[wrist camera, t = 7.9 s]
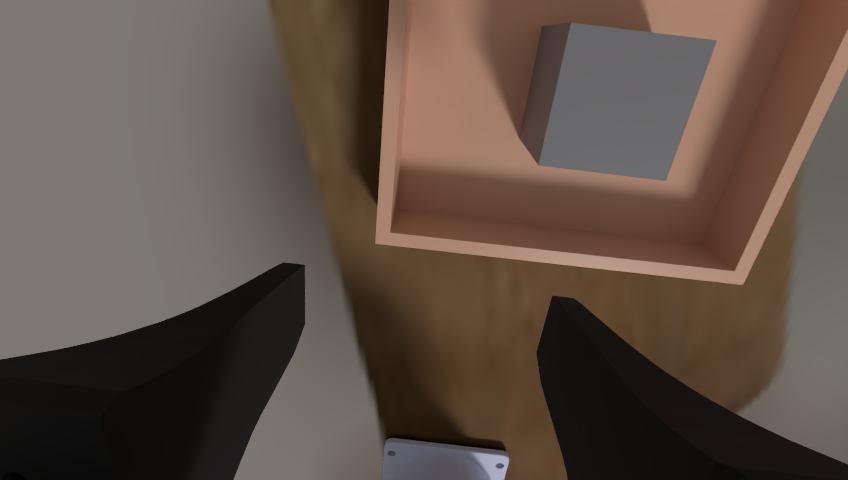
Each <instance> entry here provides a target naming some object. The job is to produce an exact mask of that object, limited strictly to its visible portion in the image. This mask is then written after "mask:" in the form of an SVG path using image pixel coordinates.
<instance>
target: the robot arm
mask: <svg viewBox="0 0 848 480" xmlns="http://www.w3.org/2000/svg"><path fill="white" fill-rule="evenodd" d="M304 325H305V265H300V264H291V263H282V264H279V265H277V266H276V267H274V268H272V269H270V270H268V271H266V272H265V273H263V274H261V275H259V276H257V277H256V278H254V279H252V280H250V281H248V282H246V283H245V284H243V285H241V286H239V287H237V288H236V289H234V290H232V291H230V292H228V293H226V294H224V295H222V296H220V297H218V298H216V299H213V300H211V301H209V302H207V303H205V304H203V305H201V306H199V307H197V308H194V309H192V310H190V311H188V312H185V313H182V314H180V315H178V316H175V317H173V318H170V319H167V320H164V321H161V322H159V323H156V324H153V325H150V326H147V327H143V328H140V329H137V330H133V331H130V332H127V333H124V334H121V335H117V336H114V337H110V338H106V339H102V340H98V341H94V342H90V343H86V344H81V345H77V346H73V347H68V348H64V349H59V350H53V351H48V352H42V353H36V354H31V355H25V356H19V357H13V358H8V359H1V360H0V480H233V479H234V476H235V474H236V471H237V469H238V466H239V464H240V461H241V459H242V456H243V454H244V452H245V449H246V447H247V444H248V442H249V439H250V437H251V434H252V432H253V430H254V428H255V426H256V424H257V422H258V420H259V417H260V415H261V414H262V412H263V410H264V408H265V406H266V405H267V403H268V401H269V399H270V397H271V395H272V393H273V392H274V390H275V388H276V386H277V384H278V382H279V381H280V379H281V377H282V375H283V373H284V371H285V369H286V367H287V365H288V364H289V362H290V360H291V358H292V356H293V354H294V352H295V349H296V347H297V344H298V341H299V338H300V336H301V333H302V330H303V328H304ZM537 359H538V366H539V373H540V379H541V384H542V388H543V392H544V395H545V398H546V402H547V405H548V409H549V412H550V415H551V419H552V422H553V425H554V429H555V432H556V435H557V439H558V442H559V445H560V449H561V452H562V456H563V460H564V464H565V468H566V472H567V477H568V480H848V465H847V464H845V463H843V462H840V461H838V460H835V459H833V458H830V457H828V456H826V455H824V454H821V453H819V452H816V451H814V450H812V449H809V448H807V447H804V446H802V445H799V444H797V443H795V442H792V441H790V440H788V439H786V438H784V437H781V436H779V435H777V434H775V433H773V432H771V431H769V430H767V429H765V428H763V427H760V426H758V425H756V424H754V423H752V422H750V421H748V420H746V419H744V418H742V417H741V416H739V415H737V414H735V413H733V412H731V411H729V410H727V409H726V408H724V407H722V406H720V405H718V404H717V403H715V402H713V401H711V400H710V399H708V398H706V397H704V396H703V395H701V394H699V393H698V392H696V391H694V390H693V389H691V388H689V387H688V386H686V385H685V384H683V383H682V382H680V381H679V380H677V379H676V378H674V377H673V376H671V375H669V374H668V373H666V372H665V371H664V370H662V369H661V368H659V367H658V366H656V365H655V364H654V363H652V362H651V361H650V360H648V359H647V358H646V357H644V356H643V355H642V354H641V353H639V352H638V351H637V350H635V349H634V348H633V347H632V346H630V345H629V344H628V343H627V342H625V341H624V340H623V339H622V338H620V337H619V336H618V335H617V334H616V333H615V332H613V331H612V330H611V329H610V328H609V327H608V326H606V325H605V324H604V323H603V322H602V321H601V320H599V319H598V318H597V317H596V316H595V315H594V314H592V313H591V312H590V311H589V310H588V309H587V308H585V307H584V306H583V305H582V304H581V303H579V302H578V301H577V300H575V299H574V298H567V297H559V296H552V299H551V303H550V306H549V310H548V313H547V317H546V321H545V324H544V328H543V331H542V335H541V338H540V342H539V346H538V349H537ZM508 463H509V455H508V453H507V452H505V451H502V450H494V449H485V448H477V447H468V446H459V445H450V444H441V443H432V442H424V441H415V440H406V439H397V438H389V439H387V440H386V441H385V445H384V455H383V467H382V479H381V480H504V478H505V474H506V470H507V467H508Z"/></svg>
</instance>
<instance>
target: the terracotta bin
mask: <svg viewBox="0 0 848 480" xmlns="http://www.w3.org/2000/svg"><path fill="white" fill-rule="evenodd" d="M563 23H579V24H587V25H595V26H604V27H612V28H620V29H628V30H636V31H645V32H653V33H661V34H669V35H678V36H686V37H694V38H702V39H710V40H717V42H716V45H715V47H714V50H713V53H712V56H711V59H710V61H709V64H708V67H707V70H706V72H705V75H704V78H703V81H702V83H701V86H700V89H699V92H698V94H697V97H696V100H695V103H694V105H693V108H692V111H691V114H690V116H689V119H688V122H687V125H686V127H685V130H684V133H683V136H682V138H681V141H680V144H679V147H678V149H677V152H676V155H675V158H674V160H673V163H672V166H671V169H670V171H669V174H668V177H667V180H666V181H662V180H654V179H645V178H637V177H629V176H621V175H612V174H604V173H596V172H588V171H579V170H571V169H563V168H555V167H546V166H538V164H537V163H536V161H535V160H534V159H533V157H532V156H531V154H530V153H529V152H528V150H527V149H526V147H525V146H524V144H523V143H522V142H521V140H520V139H519V137H520V132H521V127H522V123H523V118H524V113H525V108H526V103H527V98H528V93H529V88H530V83H531V78H532V73H533V69H534V64H535V59H536V54H537V49H538V44H539V39H540V34H541V29H542V26H548V25H556V24H563ZM847 68H848V0H390V1H389V18H388V35H387V53H386V70H385V87H384V104H383V122H382V139H381V156H380V174H379V191H378V208H377V225H376V243H375V244H383V245H392V246H401V247H410V248H419V249H428V250H437V251H446V252H455V253H464V254H472V255H481V256H490V257H499V258H508V259H517V260H526V261H535V262H544V263H553V264H562V265H570V266H579V267H588V268H597V269H606V270H615V271H624V272H633V273H642V274H651V275H660V276H668V277H677V278H686V279H695V280H704V281H713V282H722V283H731V284H740V285H743V284H744V282H745V279H746V277H747V275H748V273H749V271H750V269H751V267H752V265H753V263H754V261H755V259H756V257H757V255H758V253H759V251H760V248H761V246H762V244H763V242H764V240H765V238H766V236H767V234H768V232H769V230H770V228H771V226H772V224H773V222H774V219H775V217H776V215H777V213H778V211H779V209H780V207H781V205H782V203H783V201H784V199H785V197H786V195H787V193H788V190H789V188H790V186H791V184H792V182H793V180H794V178H795V176H796V174H797V172H798V170H799V168H800V166H801V164H802V162H803V159H804V157H805V155H806V153H807V151H808V149H809V147H810V145H811V143H812V141H813V139H814V136H815V134H816V132H817V130H818V128H819V126H820V124H821V122H822V120H823V118H824V116H825V114H826V112H827V110H828V108H829V106H830V104H831V101H832V99H833V97H834V95H835V93H836V91H837V89H838V87H839V85H840V83H841V81H842V78H843V76H844V75H845V72H846V70H847Z"/></svg>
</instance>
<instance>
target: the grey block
mask: <svg viewBox="0 0 848 480" xmlns="http://www.w3.org/2000/svg"><path fill="white" fill-rule="evenodd" d="M716 42H717V40H710V39H702V38H694V37H686V36H678V35H669V34H661V33H653V32H645V31H636V30H628V29H620V28H612V27H604V26H595V25H587V24H579V23H563V24H556V25H548V26H542V29H541V34H540V39H539V44H538V49H537V54H536V59H535V64H534V69H533V73H532V78H531V83H530V88H529V93H528V98H527V103H526V108H525V113H524V118H523V123H522V127H521V132H520V137H519V139H520V140H521V142H522V143H523V144H524V146H525V147H526V149H527V150H528V152H529V153H530V154H531V156H532V157H533V159H534V160H535V161H536V163H537V164H538V166H546V167H555V168H563V169H571V170H579V171H588V172H596V173H604V174H612V175H621V176H629V177H637V178H645V179H654V180H662V181H666V180H667V177H668V174H669V171H670V169H671V166H672V163H673V160H674V158H675V155H676V152H677V149H678V147H679V144H680V141H681V138H682V136H683V133H684V130H685V127H686V125H687V122H688V119H689V116H690V114H691V111H692V108H693V105H694V103H695V100H696V97H697V94H698V92H699V89H700V86H701V83H702V81H703V78H704V75H705V72H706V70H707V67H708V64H709V61H710V59H711V56H712V53H713V50H714V47H715V45H716Z"/></svg>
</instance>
